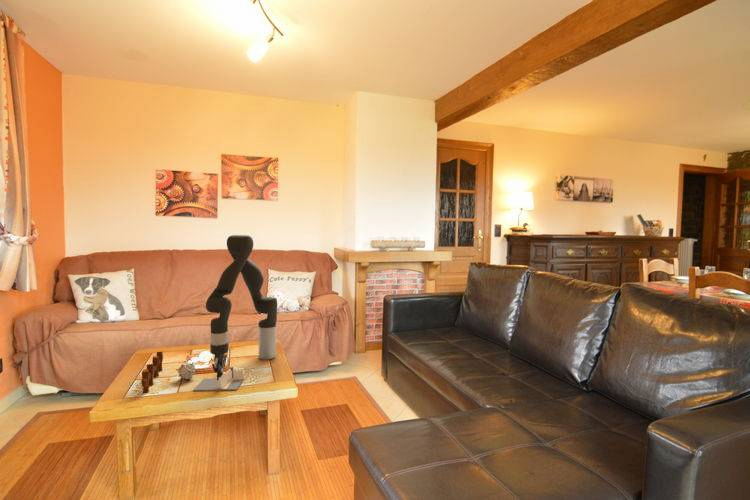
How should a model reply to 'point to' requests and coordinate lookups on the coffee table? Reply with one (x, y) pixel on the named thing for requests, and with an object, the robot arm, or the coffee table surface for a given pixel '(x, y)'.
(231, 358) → the coffee table surface
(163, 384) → the coffee table surface
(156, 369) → the fence
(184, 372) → the grey spiky ball
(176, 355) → the coffee table surface
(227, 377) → the hinged panel
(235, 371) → the fixed panel
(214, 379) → the card
